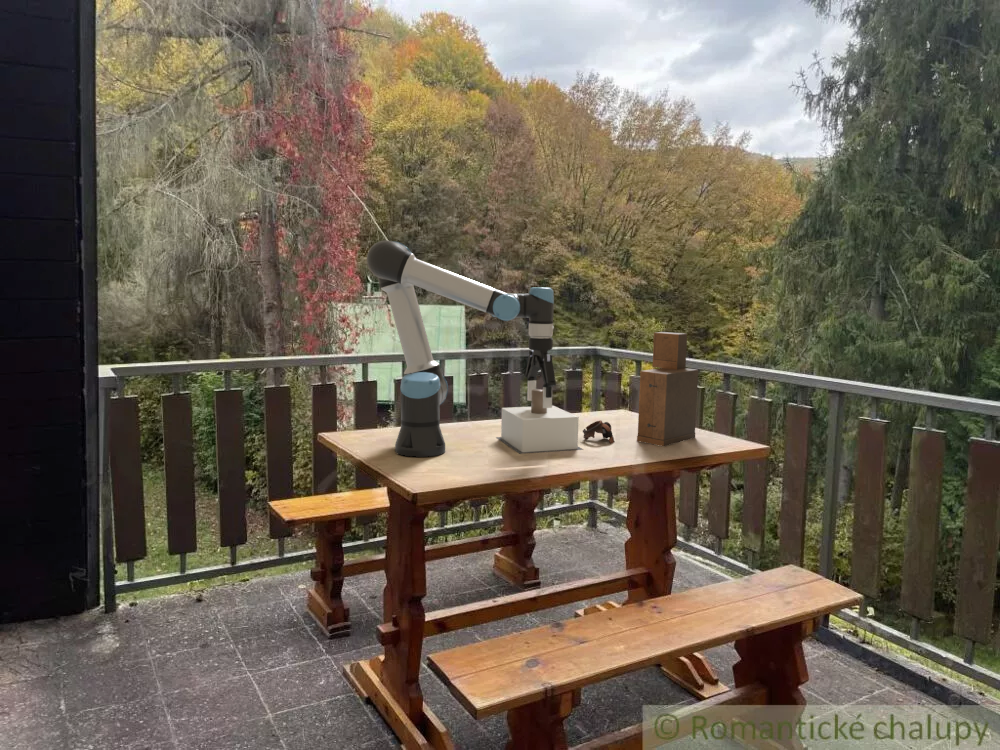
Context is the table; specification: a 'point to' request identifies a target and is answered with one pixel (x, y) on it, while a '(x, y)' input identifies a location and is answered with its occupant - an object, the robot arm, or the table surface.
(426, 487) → the table surface
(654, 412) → the wooden block stack
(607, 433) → the brown curved piece
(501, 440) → the mat
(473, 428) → the table surface
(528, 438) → the cover
